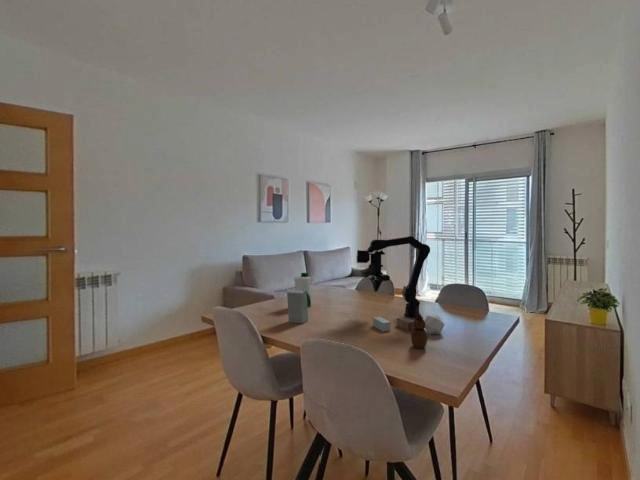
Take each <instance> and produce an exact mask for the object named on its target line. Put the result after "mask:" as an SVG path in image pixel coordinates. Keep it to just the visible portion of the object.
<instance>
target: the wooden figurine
mask: <svg viewBox="0 0 640 480" xmlns="http://www.w3.org/2000/svg"><path fill="white" fill-rule="evenodd" d="M413 321H414V322H413V326H414V328H413V329H412V331H410V332H411V333H410V338H411V344H412V346H413V347H415V348H416V349H424V348H426V346H427V343H428V332H427V330H426V329H425V319H424V318H423V316H422V314H420V310H419V311H418V313H417V309H416V315H415V317H414V320H413Z"/></svg>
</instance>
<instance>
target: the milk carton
mask: <svg viewBox="0 0 640 480" xmlns="http://www.w3.org/2000/svg"><path fill="white" fill-rule="evenodd" d="M308 274H309V273H308V272H302V273H301V274H300V275H299V276H294V277H293V280H294V290H302V291H306V293H307V308H310V307H311V305H312V303H311V302H312V301H311V282H312V276H309V275H308Z"/></svg>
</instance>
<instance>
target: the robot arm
mask: <svg viewBox="0 0 640 480" xmlns="http://www.w3.org/2000/svg"><path fill="white" fill-rule="evenodd" d="M402 245H410V246H412V247H413V248H414V249H415V261H414V264H413V267H412V270H411V274H410V277H409V281H408V284H407V285H406V286H405V285H403V287H402V288H403V290H402V291H401V294H402V297H403V300H404V301H405V302H406V304H405V310H404V311H405V313H403V316H407V317H409V318H415V315H416V309H417V313H418V311H419V312H420V305H421V302H420V300H418V299H417V286H418V282H419V279H420V276H421V272H422V269H423V266H424V263H425V261H426V259H427V258H428V256H429V254H430V252H431V247H430V246H429V245H428V244H426V243H423V242H421V241H419V240H418V239H417V238H415V237H414V236H412V235H408V236H402V237H397V238H389V239H379V238H378V239H372V240H371V241H370V243H369V247H367V249H366V250H357V251H356V263H357V264H367V263H368V262H370V263H369V264H368V267H366V268H364V269H362V270H360V271H359V272H360V274H361V277H362V278H368V277H369V278H368V280H369V281H370V282H371V284H372V287H373V290H374V292H375V293H376V292H378V291H379V289H380V286H381V285H382V283H383V282H386V281H390V280H391V277H390V275H389V274H386V273H385V274H384V272H383V271H382V268H383V267H384V265H383V264H382V255H383V256H384V255H385V254H386V253H385V252H384V251H383V249H386V248H390V247H396V246H402Z"/></svg>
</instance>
